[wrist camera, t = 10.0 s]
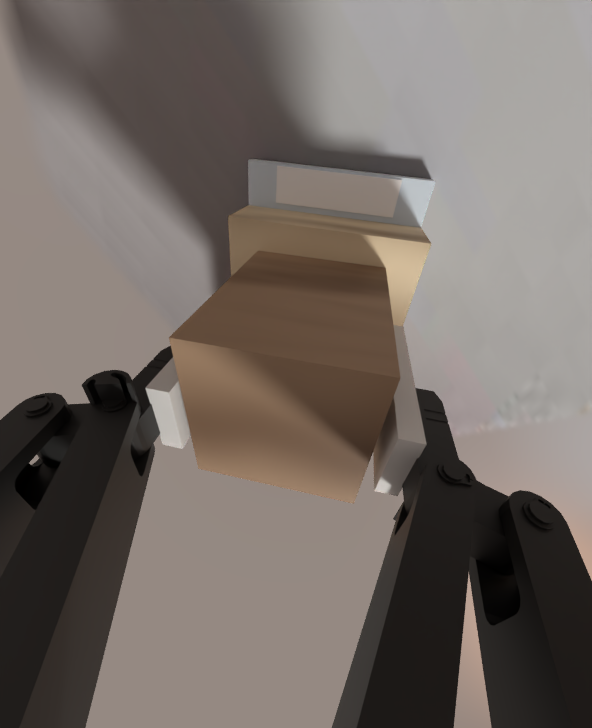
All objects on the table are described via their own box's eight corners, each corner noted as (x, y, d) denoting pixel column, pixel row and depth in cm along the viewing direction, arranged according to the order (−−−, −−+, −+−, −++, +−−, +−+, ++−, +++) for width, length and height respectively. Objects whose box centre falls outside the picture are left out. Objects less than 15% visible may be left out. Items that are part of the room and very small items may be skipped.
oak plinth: (248, 205, 16) (228, 216, 13) (420, 227, 15) (431, 243, 13) (250, 344, 21) (236, 370, 19) (376, 367, 20) (378, 397, 18)
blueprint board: (253, 158, 15) (247, 159, 14) (431, 179, 14) (436, 181, 14) (254, 359, 23) (250, 367, 22) (369, 380, 22) (369, 389, 22)
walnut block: (257, 250, 14) (168, 337, 8) (385, 267, 13) (400, 378, 7) (258, 352, 18) (198, 468, 11) (359, 370, 17) (353, 503, 11)
